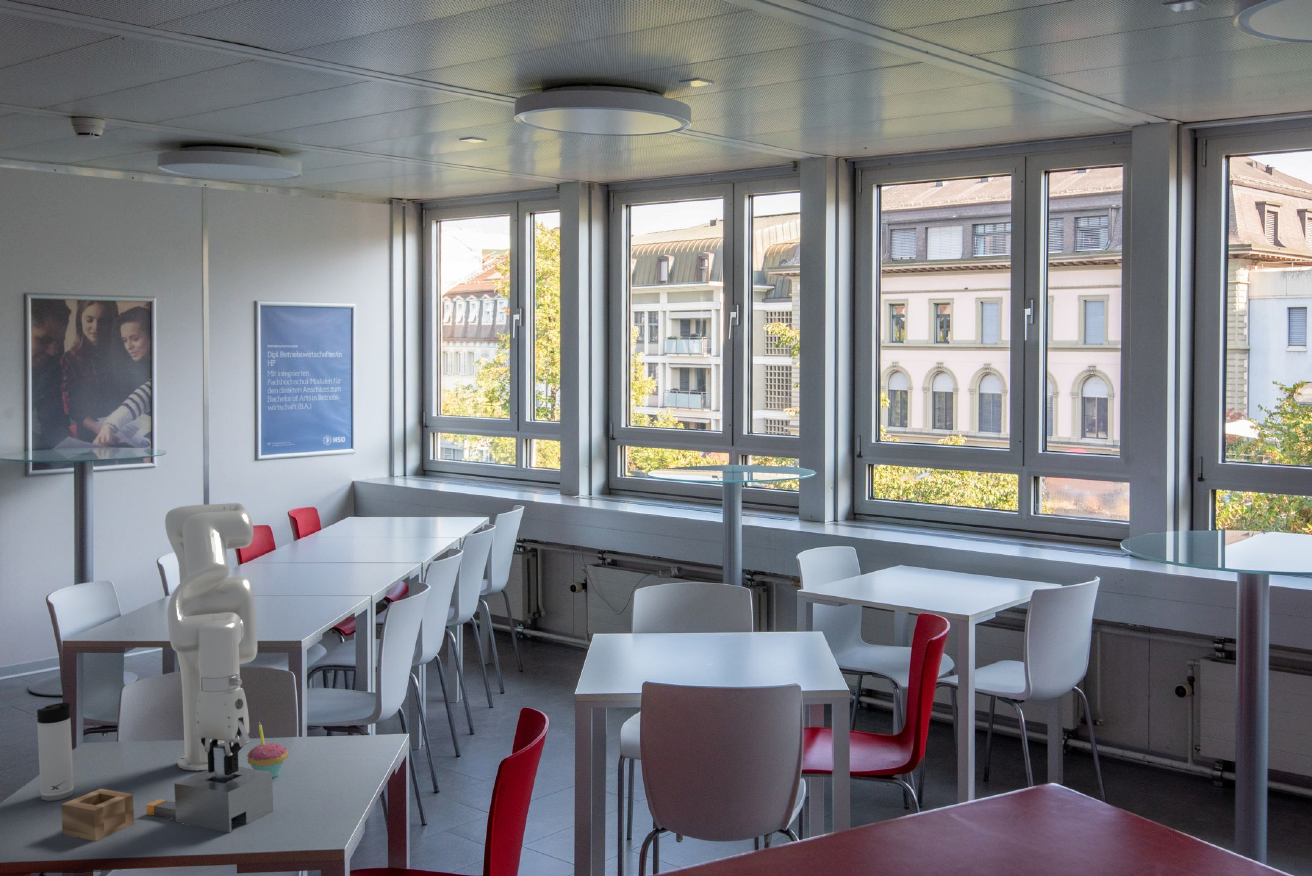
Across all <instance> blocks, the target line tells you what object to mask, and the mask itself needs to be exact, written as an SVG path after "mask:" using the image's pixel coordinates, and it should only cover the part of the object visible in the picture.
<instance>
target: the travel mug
mask: <svg viewBox="0 0 1312 876" xmlns="http://www.w3.org/2000/svg"><path fill="white" fill-rule="evenodd" d="M70 707H71V704H70V702H59V703H54V704H49V705H47V706H44V707H43V708H38V709H37V710H36V715H37V716H36V718H37V721H36V723H37V742H38V743H37V744H38V748H37V749H38V765H39V766H38V767H39V770H38V771H39V785H40V786H39V787H40V799H41V800H42V801H45V802H46V801H47V802H51V801H52V802H55V801H60V800H64V799H68V798H70V797H71V796H72V795H73V794H74V791H75V790H74V770H73V769H74V766H73V746H72V742H73V741H72V724H71V713H70V712H71V711H70V710H71V709H70Z"/></svg>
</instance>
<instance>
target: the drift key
mask: <svg viewBox="0 0 1312 876" xmlns="http://www.w3.org/2000/svg"><path fill="white" fill-rule="evenodd" d="M147 814H149V815H148V816H151V815H157V816H156V817H159V816H161V817H160V818H165V817H167V818H166V819H170V818H172V820H176V808H175V801H170V800H166V799H160V798H159V799H156V800H154V801H151V802H149V803H147V804H146V815H147Z"/></svg>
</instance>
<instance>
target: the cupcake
mask: <svg viewBox="0 0 1312 876" xmlns="http://www.w3.org/2000/svg"><path fill="white" fill-rule="evenodd" d="M258 731H259V737H260V742H261V744H258V745H256V746H255V747H253V748H251V749H250V751H249V752H248V753H247V756H246V758H247V763H248V764H249V765H250V766H251V769H254V770H261V771H267V772H272V779H274V778H276V777H278V776H279V775H280V772H281V771H280V770H281V767H282V765H283V762H284V761H285V760H286V759H287V758H288V757H289V754H288V753H289V752H288V749H287V748H286V747H284V746H283V745H281V744H279V743H274V742H273V743H271V742H269V743H268V742H267V743H266V742H265V737H264V732H263V726H262V724H261V722H260V721H258Z"/></svg>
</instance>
